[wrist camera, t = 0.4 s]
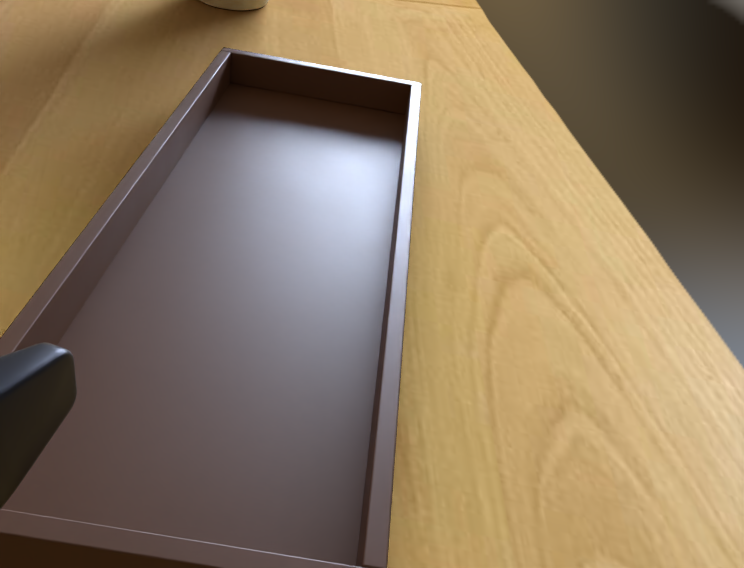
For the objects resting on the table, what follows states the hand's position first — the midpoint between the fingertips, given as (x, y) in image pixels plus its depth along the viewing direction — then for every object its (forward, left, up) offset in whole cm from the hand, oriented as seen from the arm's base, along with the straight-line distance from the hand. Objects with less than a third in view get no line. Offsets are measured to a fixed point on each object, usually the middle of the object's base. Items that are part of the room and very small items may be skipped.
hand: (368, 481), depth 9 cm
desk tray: (+23, +13, -15) cm, 31 cm away
